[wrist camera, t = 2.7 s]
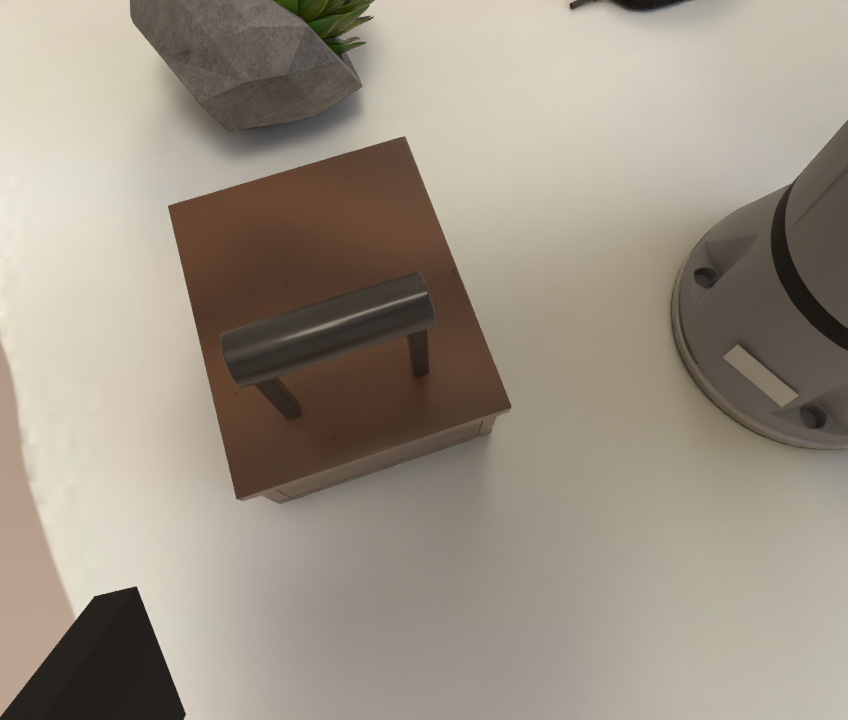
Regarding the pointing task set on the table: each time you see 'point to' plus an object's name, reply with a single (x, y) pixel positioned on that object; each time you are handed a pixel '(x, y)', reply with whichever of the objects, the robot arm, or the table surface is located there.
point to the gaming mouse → (633, 3)
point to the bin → (381, 461)
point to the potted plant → (256, 54)
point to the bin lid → (331, 317)
